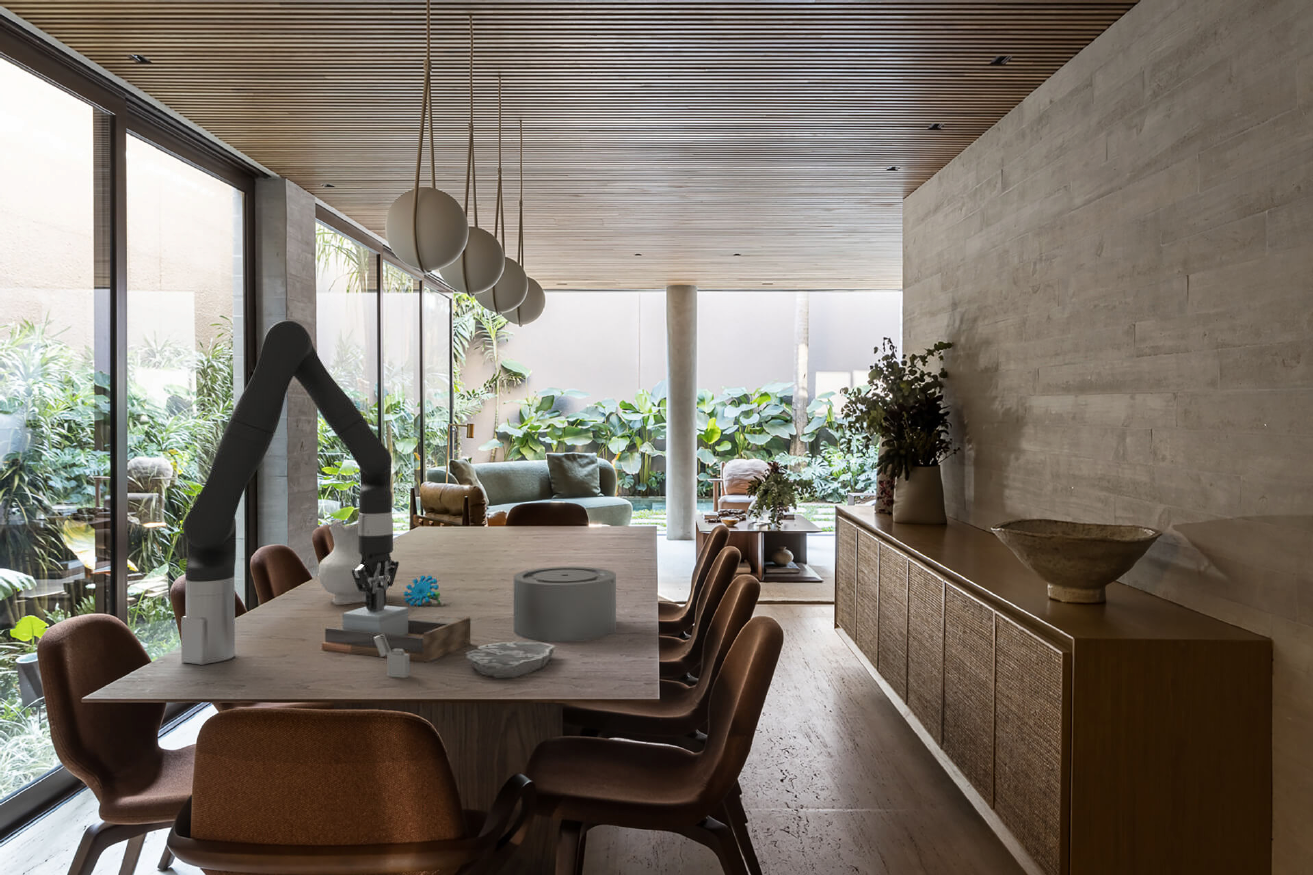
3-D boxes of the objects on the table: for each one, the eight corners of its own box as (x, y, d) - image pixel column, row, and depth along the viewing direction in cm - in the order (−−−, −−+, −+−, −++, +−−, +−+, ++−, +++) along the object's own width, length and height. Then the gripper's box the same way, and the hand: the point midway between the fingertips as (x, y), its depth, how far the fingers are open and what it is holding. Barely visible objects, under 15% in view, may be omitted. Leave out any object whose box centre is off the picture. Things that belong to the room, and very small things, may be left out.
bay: (427, 662, 170) (427, 633, 170) (322, 649, 180) (321, 622, 180) (470, 643, 185) (470, 617, 185) (371, 632, 195) (371, 607, 195)
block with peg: (379, 644, 178) (379, 594, 178) (342, 639, 182) (342, 590, 182) (408, 633, 188) (408, 586, 188) (373, 629, 191) (373, 583, 191)
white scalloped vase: (322, 597, 241) (315, 515, 240) (391, 588, 248) (384, 507, 247) (320, 613, 221) (312, 523, 220) (395, 602, 228) (387, 514, 227)
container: (591, 646, 184) (591, 587, 184) (494, 637, 192) (494, 581, 192) (630, 621, 207) (630, 569, 207) (542, 614, 215) (542, 564, 215)
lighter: (410, 675, 161) (409, 635, 161) (405, 677, 160) (404, 637, 159) (378, 672, 163) (378, 633, 163) (373, 675, 161) (373, 635, 161)
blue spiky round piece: (395, 598, 227) (416, 570, 233) (405, 610, 231) (425, 582, 237) (425, 608, 222) (446, 578, 228) (434, 619, 226) (454, 590, 232)
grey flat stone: (498, 650, 180) (498, 637, 180) (566, 658, 174) (566, 644, 174) (444, 675, 162) (444, 660, 162) (518, 685, 156) (518, 670, 156)
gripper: (368, 536, 177) (368, 616, 177) (408, 529, 190) (409, 603, 190) (340, 535, 179) (341, 613, 180) (382, 528, 192) (383, 600, 193)
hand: (376, 607), depth 185 cm, fingers closed on block with peg, 2 cm apart
